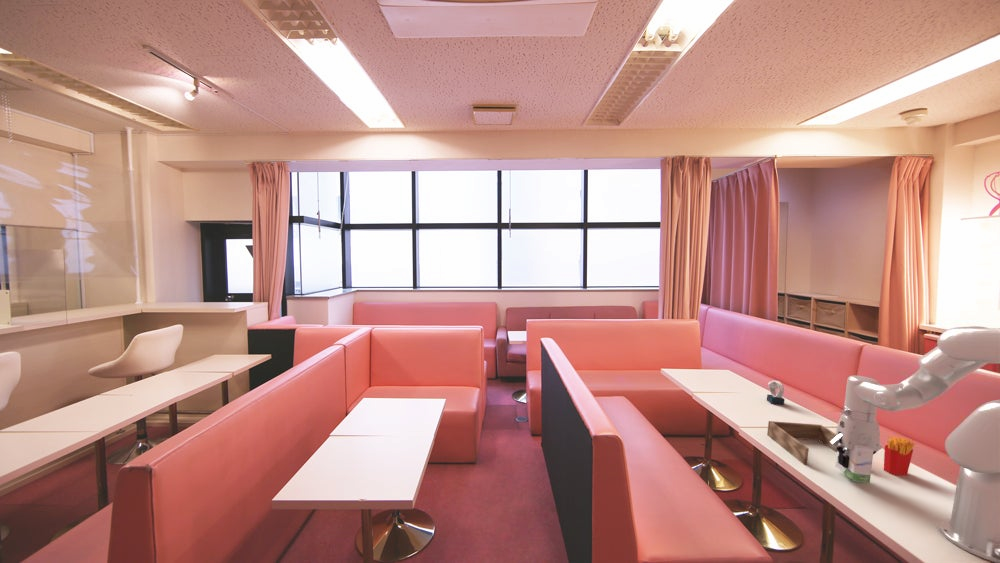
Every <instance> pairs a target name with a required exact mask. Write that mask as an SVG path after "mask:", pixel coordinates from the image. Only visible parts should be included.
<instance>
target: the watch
mask: <svg viewBox="0 0 1000 563" xmlns="http://www.w3.org/2000/svg"><path fill="white" fill-rule="evenodd" d="M767 385H768V390H769V392H770V394H767V396H766V402H768V403H769V404H772V405H779V406H784V405H785V400H786V399H785V398H784V397H783V395H784V393H785V392H784V391H785V389H784V385H783V383H782V382H781V381H779V380H771V381H769V382H768V383H767ZM777 389H778V391H777V392H776V390H777Z"/></svg>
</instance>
